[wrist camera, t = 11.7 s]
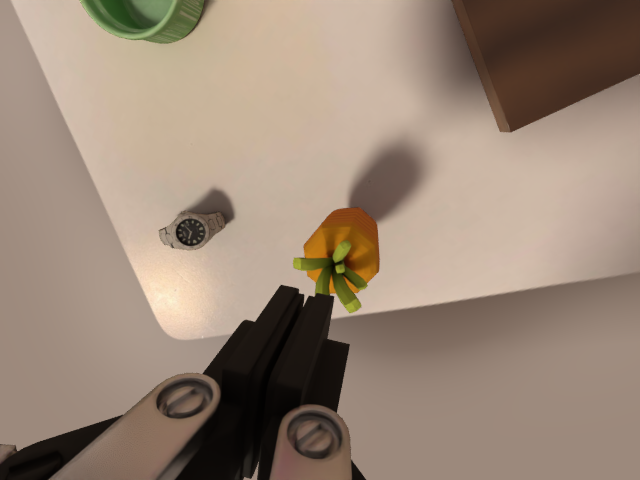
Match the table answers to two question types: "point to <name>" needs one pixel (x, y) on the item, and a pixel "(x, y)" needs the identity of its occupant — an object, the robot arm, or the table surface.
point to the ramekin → (145, 18)
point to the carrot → (342, 255)
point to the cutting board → (548, 52)
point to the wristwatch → (192, 230)
